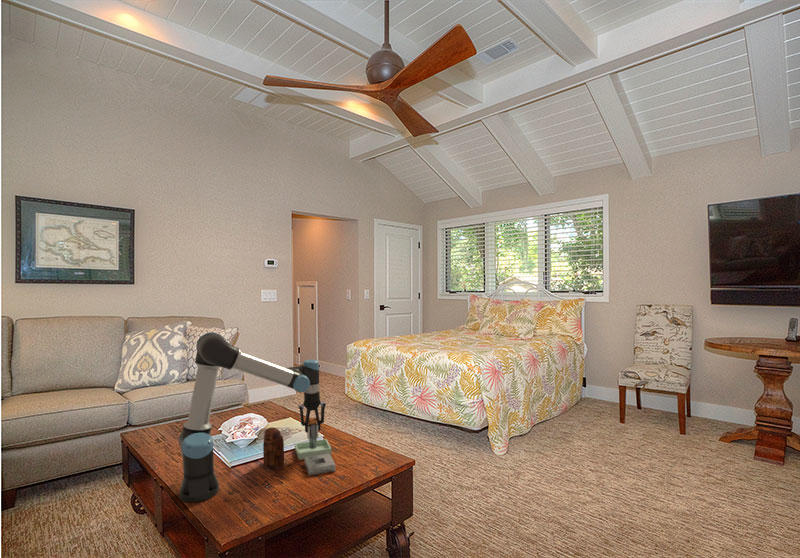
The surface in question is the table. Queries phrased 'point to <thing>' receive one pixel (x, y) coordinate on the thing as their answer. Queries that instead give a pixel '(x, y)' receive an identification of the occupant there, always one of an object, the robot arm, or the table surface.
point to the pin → (312, 433)
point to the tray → (305, 451)
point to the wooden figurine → (273, 449)
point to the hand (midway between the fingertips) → (312, 437)
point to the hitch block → (319, 464)
